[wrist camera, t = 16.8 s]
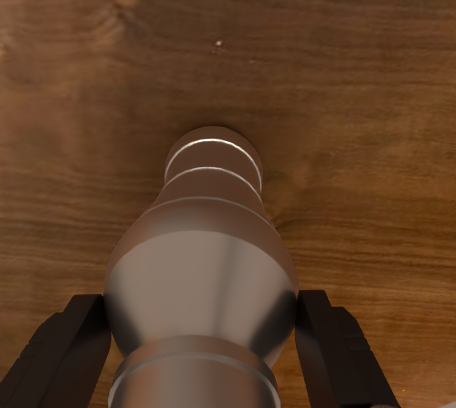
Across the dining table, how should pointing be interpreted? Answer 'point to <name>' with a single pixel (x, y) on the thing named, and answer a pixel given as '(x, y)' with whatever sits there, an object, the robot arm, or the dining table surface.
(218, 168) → the plastic bottle
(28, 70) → the dining table surface
